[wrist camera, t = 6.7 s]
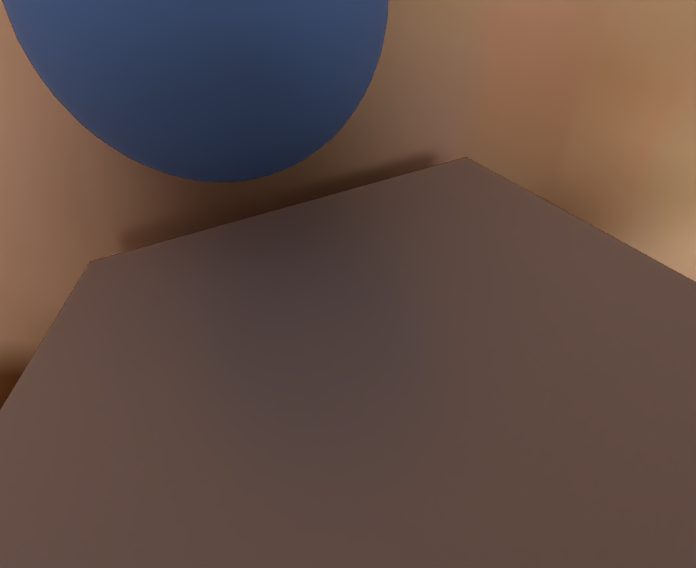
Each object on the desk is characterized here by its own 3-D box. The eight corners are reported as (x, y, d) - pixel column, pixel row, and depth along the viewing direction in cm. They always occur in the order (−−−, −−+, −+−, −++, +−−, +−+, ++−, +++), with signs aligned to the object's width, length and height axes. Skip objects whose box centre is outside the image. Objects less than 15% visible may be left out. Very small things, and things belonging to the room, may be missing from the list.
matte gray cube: (466, 157, 10) (1319, 622, 2) (486, 417, 14) (809, 910, 6) (89, 261, 9) (-654, 1489, 1) (225, 503, 13) (217, 1176, 5)
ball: (428, 189, 8) (341, 6, 10) (485, -202, 3) (303, -396, 5) (146, 279, 8) (113, 72, 10) (-198, -15, 3) (-128, -292, 5)
